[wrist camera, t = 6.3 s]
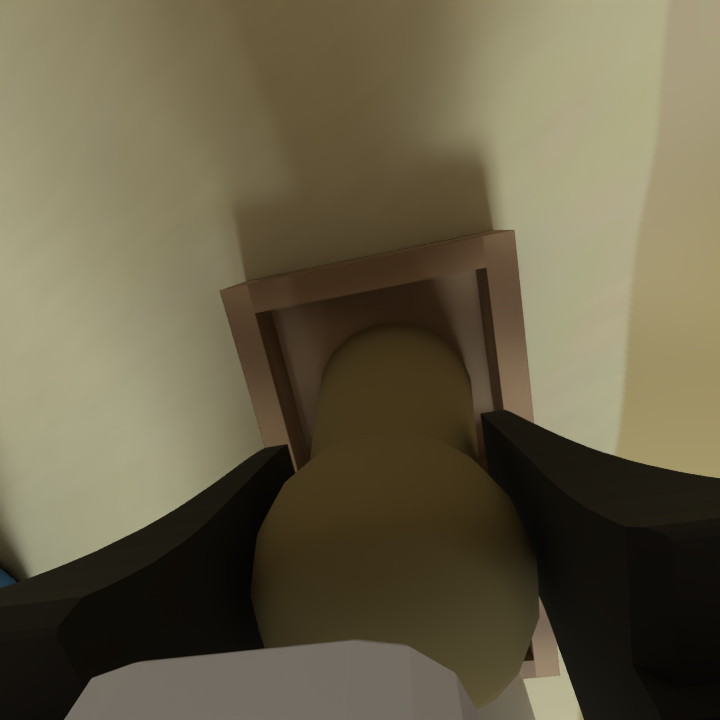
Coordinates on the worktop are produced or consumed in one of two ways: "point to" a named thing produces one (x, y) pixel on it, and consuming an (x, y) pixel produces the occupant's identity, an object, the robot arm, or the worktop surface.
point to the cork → (399, 520)
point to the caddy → (382, 306)
